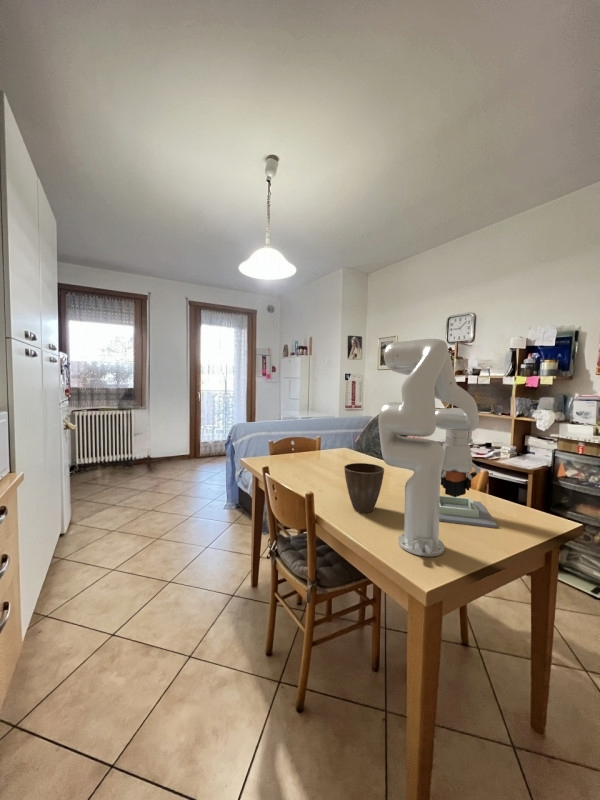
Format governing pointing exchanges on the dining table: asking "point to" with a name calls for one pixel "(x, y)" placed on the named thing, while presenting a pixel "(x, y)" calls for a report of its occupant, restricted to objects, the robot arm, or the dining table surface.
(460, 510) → the slot tray
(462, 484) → the battery
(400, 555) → the dining table surface
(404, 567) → the dining table surface
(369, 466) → the plant pot
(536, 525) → the dining table surface
